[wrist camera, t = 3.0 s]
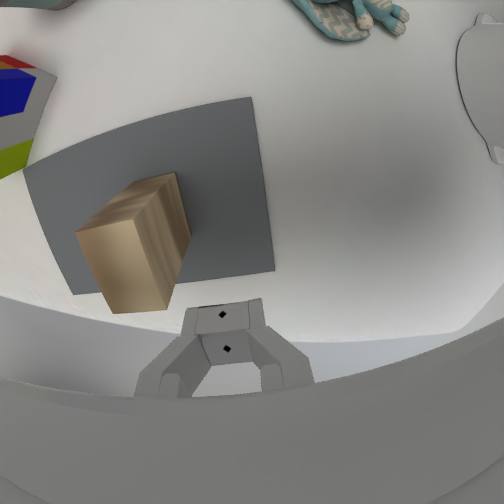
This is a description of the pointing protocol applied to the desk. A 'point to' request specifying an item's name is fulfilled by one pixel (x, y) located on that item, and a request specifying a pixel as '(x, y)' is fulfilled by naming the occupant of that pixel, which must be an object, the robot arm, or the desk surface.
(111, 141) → the mat
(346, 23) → the stuffed animal
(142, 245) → the oak block
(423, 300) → the desk surface
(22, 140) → the puzzle toy
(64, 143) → the desk surface
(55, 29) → the desk surface
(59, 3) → the coffee cup
